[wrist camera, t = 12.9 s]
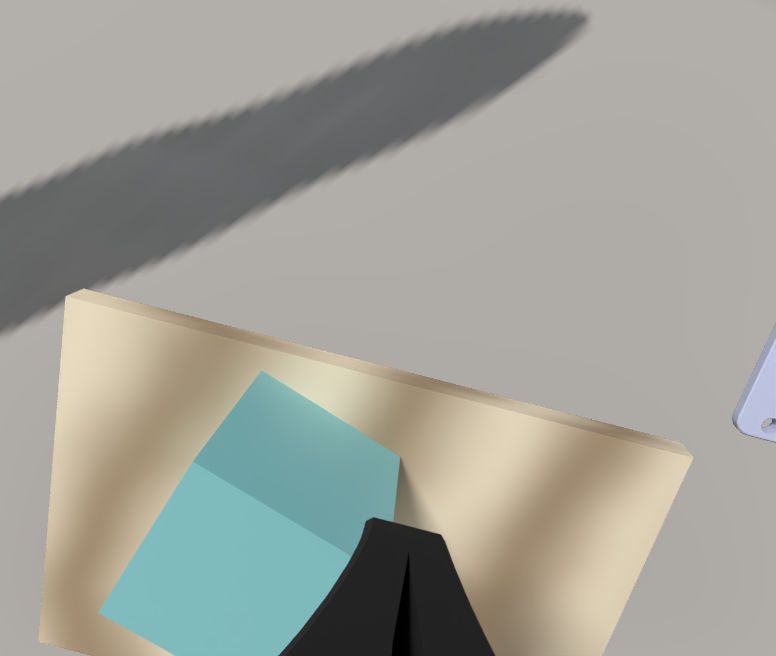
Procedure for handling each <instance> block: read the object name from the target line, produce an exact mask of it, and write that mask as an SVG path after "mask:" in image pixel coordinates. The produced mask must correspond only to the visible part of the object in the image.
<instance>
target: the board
mask: <svg viewBox="0 0 776 656" xmlns="http://www.w3.org/2000/svg"><path fill="white" fill-rule="evenodd" d="M261 371H264V372H265V373H267V374H269V375H270V376H272V377H273V378H275V379H277V380H278V381H280V382H281V383H283V384H285V385H286V386H288V387H289V388H291V389H293V390H294V391H296V392H297V393H299V394H301V395H302V396H304V397H306V398H307V399H309V400H310V401H312V402H314V403H315V404H317V405H318V406H320V407H322V408H323V409H325V410H326V411H328V412H330V413H331V414H333V415H334V416H336V417H338V418H339V419H341V420H342V421H344V422H346V423H347V424H349V425H350V426H352V427H354V428H355V429H357V430H358V431H360V432H362V433H363V434H365V435H366V436H368V437H370V438H371V439H373V440H374V441H376V442H378V443H379V444H381V445H382V446H384V447H386V448H387V449H389V450H390V451H392V452H394V453H395V454H397V455H398V456H400V464H399V473H398V482H397V491H396V501H395V510H394V519H393V522H395V523H399V524H403V525H406V526H410V527H414V528H418V529H422V530H426V531H430V532H434V533H438V534H441V535H442V537H443V538H444V540H445V542H446V545H447V548H448V550H449V553H450V556H451V558H452V561H453V563H454V566H455V569H456V571H457V573H458V576H459V578H460V581H461V583H462V585H463V588H464V590H465V593H466V595H467V597H468V599H469V602H470V604H471V606H472V608H473V611H474V613H475V615H476V617H477V619H478V621H479V623H480V625H481V627H482V629H483V632H484V634H485V636H486V638H487V640H488V642H489V644H490V646H491V648H492V650H493V652H494V654H495V656H602V655H603V653H604V651H605V649H606V647H607V644H608V642H609V640H610V638H611V636H612V634H613V632H614V629H615V627H616V625H617V623H618V621H619V618H620V616H621V614H622V612H623V610H624V608H625V606H626V603H627V601H628V599H629V597H630V595H631V593H632V590H633V588H634V586H635V584H636V582H637V580H638V577H639V575H640V573H641V571H642V569H643V566H644V564H645V562H646V560H647V558H648V556H649V553H650V551H651V549H652V547H653V545H654V543H655V540H656V538H657V536H658V534H659V532H660V530H661V528H662V525H663V523H664V521H665V519H666V517H667V515H668V512H669V510H670V508H671V506H672V503H673V501H674V499H675V497H676V495H677V492H678V491H679V489H680V486H681V484H682V482H683V480H684V478H685V475H686V473H687V471H688V469H689V467H690V465H691V462H692V460H693V457H692V455H691V454H690V453H689V452H688V451H687V449H686V448H685V447H684V446H683V444H682V443H681V442H677V441H673V440H669V439H665V438H661V437H658V436H654V435H650V434H646V433H642V432H638V431H634V430H630V429H627V428H623V427H619V426H615V425H611V424H607V423H603V422H599V421H595V420H592V419H588V418H584V417H580V416H576V415H572V414H568V413H564V412H561V411H557V410H553V409H549V408H545V407H541V406H537V405H533V404H529V403H526V402H522V401H517V400H514V399H510V398H506V397H502V396H498V395H494V394H490V393H486V392H483V391H479V390H475V389H471V388H467V387H463V386H460V385H456V384H451V383H448V382H444V381H440V380H436V379H432V378H428V377H425V376H421V375H417V374H413V373H409V372H405V371H401V370H397V369H394V368H389V367H385V366H382V365H378V364H374V363H370V362H366V361H362V360H359V359H354V358H351V357H346V356H343V355H339V354H335V353H331V352H328V351H324V350H319V349H316V348H312V347H308V346H304V345H300V344H296V343H293V342H289V341H285V340H281V339H277V338H273V337H269V336H265V335H261V334H258V333H254V332H250V331H246V330H242V329H238V328H234V327H230V326H227V325H222V324H218V323H215V322H211V321H207V320H203V319H199V318H196V317H191V316H188V315H184V314H180V313H176V312H172V311H168V310H164V309H160V308H157V307H153V306H149V305H145V304H141V303H137V302H133V301H130V300H125V299H121V298H118V297H114V296H110V295H106V294H102V293H98V292H95V291H91V290H87V289H82V290H80V291H77V292H75V293H73V294H70V295H68V296H66V300H65V312H64V326H63V338H62V351H61V364H60V377H59V389H58V402H57V415H56V428H55V441H54V455H53V466H52V479H51V492H50V505H49V518H48V530H47V544H46V556H45V570H44V583H43V594H42V608H41V620H40V634H39V642H41V643H44V644H48V645H52V646H57V647H60V648H64V649H68V650H72V651H76V652H80V653H84V654H87V655H91V656H175V655H173V654H171V653H169V652H168V651H166V650H164V649H162V648H160V647H159V646H157V645H155V644H153V643H151V642H150V641H148V640H146V639H144V638H142V637H141V636H139V635H137V634H135V633H133V632H132V631H130V630H128V629H126V628H124V627H123V626H121V625H119V624H117V623H115V622H114V621H112V620H110V619H108V618H106V617H105V616H103V615H101V614H99V613H98V612H99V610H100V609H101V607H102V606H103V604H104V602H105V601H106V599H107V598H108V596H109V594H110V593H111V591H112V590H113V588H114V586H115V585H116V583H117V582H118V580H119V578H120V577H121V575H122V574H123V572H124V570H125V569H126V567H127V566H128V564H129V562H130V561H131V559H132V558H133V556H134V554H135V553H136V551H137V550H138V548H139V546H140V545H141V543H142V542H143V540H144V538H145V537H146V535H147V534H148V532H149V530H150V529H151V527H152V526H153V524H154V522H155V521H156V519H157V518H158V516H159V514H160V513H161V511H162V510H163V508H164V506H165V505H166V503H167V502H168V500H169V499H170V497H171V495H172V494H173V492H174V491H175V489H176V487H177V486H178V484H179V483H180V481H181V479H182V478H183V476H184V475H185V473H186V471H187V470H188V468H189V467H190V465H191V463H192V462H193V460H194V459H195V458H196V456H197V455H198V454H199V452H200V451H201V450H202V449H203V447H204V446H205V445H206V443H207V442H208V441H209V439H210V438H211V437H212V435H213V434H214V433H215V431H216V430H217V429H218V427H219V426H220V425H221V423H222V422H223V421H224V419H225V418H226V417H227V415H228V414H229V413H230V412H231V410H232V409H233V408H234V406H235V405H236V404H237V402H238V401H239V400H240V398H241V397H242V396H243V394H244V393H245V392H246V390H247V389H248V388H249V386H250V385H251V384H252V382H253V381H254V380H255V378H256V377H257V376H258V375H259V373H260V372H261Z"/></svg>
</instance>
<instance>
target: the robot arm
mask: <svg viewBox="0 0 776 656" xmlns="http://www.w3.org/2000/svg"><path fill="white" fill-rule="evenodd" d="M769 418H773V419H772V423H771V424H770V425H769V426H767V427H765V428H761V426H762V423H763V422H764V421H765V420H766V419H769ZM732 420H733V424H734V425H735V427H736V428H737V429H738V430H739V431H740V432H741V433H743V434H745V435H748V436H752V437H756V438H760V439H764V440H767V441H772V442H775V443H776V324H775V326H774V328H773V331H772V333H771V335H770V337H769V339H768V341H767V343H766V345H765V347H764V350H763V352H762V354H761V356H760V358H759V360H758V362H757V364H756V367H755V368H754V371H753V373H752V375H751V377H750V379H749V381H748V384H747V386H746V388H745V390H744V392H743V394H742V396H741V398H740V400H739V402H738V404H737V407H736V409H735V411H734V413H733V417H732ZM278 656H495V654H494V652H493V650H492V648H491V646H490V644H489V642H488V640H487V638H486V636H485V634H484V632H483V629H482V627H481V625H480V623H479V621H478V619H477V617H476V615H475V613H474V611H473V608H472V606H471V604H470V602H469V599H468V597H467V595H466V593H465V590H464V588H463V585H462V583H461V581H460V578H459V576H458V573H457V571H456V569H455V566H454V563H453V561H452V558H451V556H450V553H449V550H448V548H447V545H446V542H445V540H444V538H443V537H442V535H441V534H438V533H434V532H430V531H426V530H422V529H418V528H414V527H410V526H406V525H403V524H399V523H395V522H391V521H387V520H383V519H379V518H375V517H373V518H371V519H369V520H367V521H366V522H365V526H364V529H363V533H362V536H361V539H360V541H359V543H358V545H357V547H356V549H355V551H354V553H353V555H352V557H351V558H350V560H349V562H348V564H347V566H346V567H345V569H344V570H343V572H342V573H341V575H340V576H339V578H338V579H337V581H336V583H335V584H334V586H333V587H332V589H331V590H330V592H329V593H328V595H327V596H326V597H325V599H324V600H323V601H322V603H321V604H320V605H319V607H318V608H317V609H316V611H315V612H314V613H313V614H312V616H311V617H310V618H309V620H308V621H307V622H306V624H305V625H304V626H303V627H302V629H301V630H300V631H299V632H298V633H297V635H296V636H295V637H294V638H293V639H292V641H291V642H290V643H289V644H288V645H287V646H286V647H285V649H284V650H283V651H282V652H281V653H280V654H279V655H278Z"/></svg>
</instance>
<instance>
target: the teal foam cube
mask: <svg viewBox="0 0 776 656" xmlns="http://www.w3.org/2000/svg"><path fill="white" fill-rule="evenodd" d="M399 464H400V456H398V455H397V454H395V453H394V452H392V451H390V450H389V449H387V448H386V447H384V446H382V445H381V444H379V443H378V442H376V441H374V440H373V439H371V438H370V437H368V436H366V435H365V434H363V433H362V432H360V431H358V430H357V429H355V428H354V427H352V426H350V425H349V424H347V423H346V422H344V421H342V420H341V419H339V418H338V417H336V416H334V415H333V414H331V413H330V412H328V411H326V410H325V409H323V408H322V407H320V406H318V405H317V404H315V403H314V402H312V401H310V400H309V399H307V398H306V397H304V396H302V395H301V394H299V393H297V392H296V391H294V390H293V389H291V388H289V387H288V386H286V385H285V384H283V383H281V382H280V381H278V380H277V379H275V378H273V377H272V376H270V375H269V374H267V373H265V372H264V371H261V372H260V373H259V375H258V376H257V377H256V378H255V380H254V381H253V382H252V384H251V385H250V386H249V388H248V389H247V390H246V392H245V393H244V394H243V396H242V397H241V398H240V400H239V401H238V402H237V404H236V405H235V406H234V408H233V409H232V410H231V412H230V413H229V414H228V415H227V417H226V418H225V419H224V421H223V422H222V423H221V425H220V426H219V427H218V429H217V430H216V431H215V433H214V434H213V435H212V437H211V438H210V439H209V441H208V442H207V443H206V445H205V446H204V447H203V449H202V450H201V451H200V452H199V454H198V455H197V456H196V458H195V459H194V460H193V462H192V463H191V465H190V467H189V468H188V470H187V471H186V473H185V475H184V476H183V478H182V479H181V481H180V483H179V484H178V486H177V487H176V489H175V491H174V492H173V494H172V495H171V497H170V499H169V500H168V502H167V503H166V505H165V506H164V508H163V510H162V511H161V513H160V514H159V516H158V518H157V519H156V521H155V522H154V524H153V526H152V527H151V529H150V530H149V532H148V534H147V535H146V537H145V538H144V540H143V542H142V543H141V545H140V546H139V548H138V550H137V551H136V553H135V554H134V556H133V558H132V559H131V561H130V562H129V564H128V566H127V567H126V569H125V570H124V572H123V574H122V575H121V577H120V578H119V580H118V582H117V583H116V585H115V586H114V588H113V590H112V591H111V593H110V594H109V596H108V598H107V599H106V601H105V602H104V604H103V606H102V607H101V609H100V610H99V612H98V613H99V614H101V615H103V616H105V617H106V618H108V619H110V620H112V621H114V622H115V623H117V624H119V625H121V626H123V627H124V628H126V629H128V630H130V631H132V632H133V633H135V634H137V635H139V636H141V637H142V638H144V639H146V640H148V641H150V642H151V643H153V644H155V645H157V646H159V647H160V648H162V649H164V650H166V651H168V652H169V653H171V654H173V655H175V656H278V655H279V654H280V653H281V652H282V651H283V650H284V649H285V647H286V646H287V645H288V644H289V643H290V642H291V641H292V639H293V638H294V637H295V636H296V635H297V633H298V632H299V631H300V630H301V629H302V627H303V626H304V625H305V624H306V622H307V621H308V620H309V618H310V617H311V616H312V614H313V613H314V612H315V611H316V609H317V608H318V607H319V605H320V604H321V603H322V601H323V600H324V599H325V597H326V596H327V595H328V593H329V592H330V590H331V589H332V587H333V586H334V584H335V583H336V581H337V579H338V578H339V576H340V575H341V573H342V572H343V570H344V569H345V567H346V566H347V564H348V562H349V560H350V558H351V557H352V555H353V553H354V551H355V549H356V547H357V545H358V543H359V541H360V539H361V536H362V533H363V529H364V526H365V522H366V521H367V520H369V519H371V518H373V517H375V518H379V519H383V520H387V521H391V522H393V519H394V510H395V501H396V491H397V482H398V473H399Z"/></svg>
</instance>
